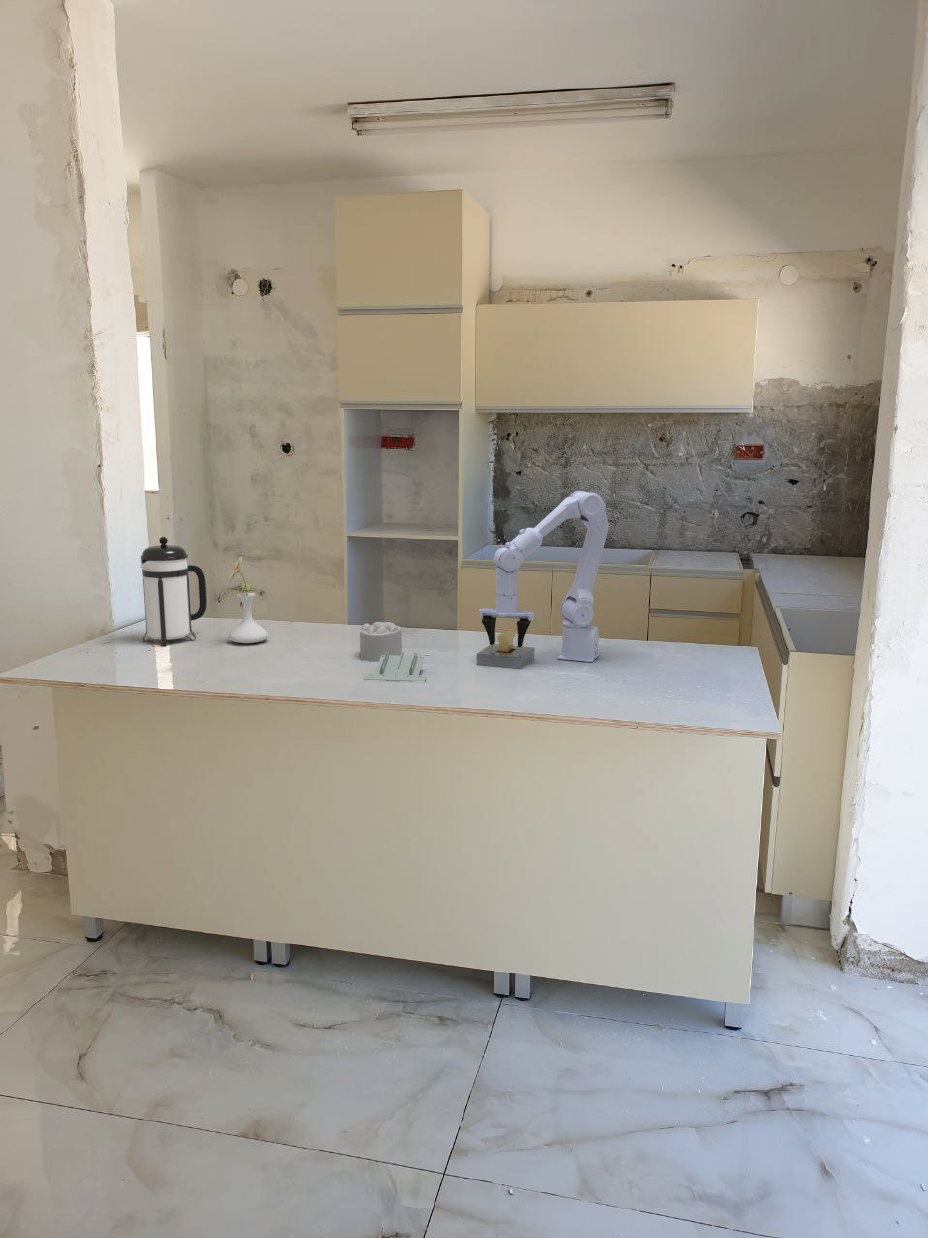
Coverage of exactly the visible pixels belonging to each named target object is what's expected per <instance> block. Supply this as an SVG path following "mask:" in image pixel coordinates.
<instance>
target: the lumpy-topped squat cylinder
mask: <svg viewBox="0 0 928 1238" xmlns="http://www.w3.org/2000/svg"><path fill="white" fill-rule="evenodd" d="M402 643H403V642H402V626H399V625H396V624H395V623H393V622H389V621H385V622H384V621H375V622H374V623H372V624H369V623H364V624H363V625H362V626H361V629H360V631H359V644H360V645H359V649H360V656H361V657H362V658H363V659H362V658H361V657H360V658H361V659H362V660H364V659H365V660H364V661H367V660H368V662H379V660H380V657H381V655H385V653H386V652H387V653H388V652H389V655H398V656H401V655H402V654H401V653H402V651H403V649H402V646H403V645H402Z"/></svg>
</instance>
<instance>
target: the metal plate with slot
mask: <svg viewBox="0 0 928 1238" xmlns="http://www.w3.org/2000/svg"><path fill="white" fill-rule="evenodd" d="M533 660H535V647H529V646H522V647H518V645H513V652H511V653H499V643H498V644H497V643H495V644H493V645H490V644H489V645H488V646H486V647H485V648H483V649H481V650H480V651H478V652H477V653H476V666H484V667H485V666H486V667H495V668H504V669H505V668H507V669H508V668H509V669H518V670H522V669H523V668H524V667H526V666H527V665H528V664H529V663H530V662H532V661H533Z"/></svg>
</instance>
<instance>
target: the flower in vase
mask: <svg viewBox="0 0 928 1238" xmlns="http://www.w3.org/2000/svg"><path fill="white" fill-rule="evenodd" d="M242 561H243V556H241V557H240V556H239V557H238V560H237V561H235V565H234V568H233V569H232V570H231V572H230V575H229V577H228V579H227V580H228V582H229V583H230V582H232V581H233V579H234V578H235V576H236V574H238V573H239V574H240V576H241V578H242V579H243V582H242V584H241V585H240V586H241V588H242V590H241V592H240V593H238V594H237V597H239V599H240V601H241V604H242V605H241V606H242V609H243V610H242V611H243V616H242V620H241V621H240V622H239V624H238V625H237V626H235V627H234V628H233V629H232V630H231V631H230V632H229V633H228V635H227V638H228V640H230V641H231V642H234V643H239V644H255V643H260V642H263V641H265V640H267V639H268V638H269V632H268V631H267V630H266V628H264V627H262V626H261V625H260V624H259V623H257V622H256V620H255V621H254V619H253V616H252V609H253V608H252V605H253V601H254V598H255V597H256V595H257V594H256V593H254V592H248V591H249V590H250V589H251V586H250V585H249V582H248V581H247V580H246V578H245V577H244V575H243V573H242V572H241V570H240V567H241V565H242ZM244 591H245V592H244ZM243 592H244V593H243Z"/></svg>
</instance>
